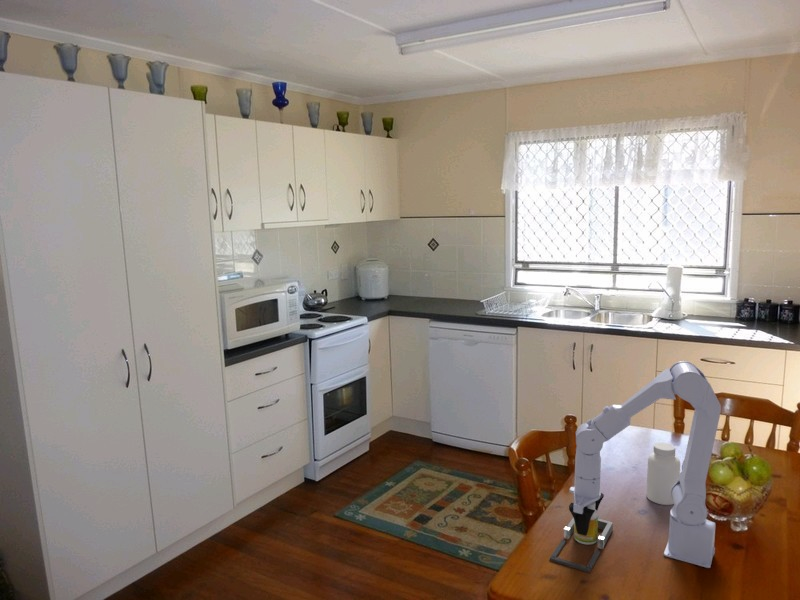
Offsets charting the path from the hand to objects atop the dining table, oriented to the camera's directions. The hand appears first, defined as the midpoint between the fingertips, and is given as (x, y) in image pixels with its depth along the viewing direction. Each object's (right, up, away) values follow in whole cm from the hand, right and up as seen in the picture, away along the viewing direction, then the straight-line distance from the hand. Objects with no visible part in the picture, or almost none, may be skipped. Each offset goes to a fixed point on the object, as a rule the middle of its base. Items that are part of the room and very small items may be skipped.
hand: (585, 527), depth 144 cm
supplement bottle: (0, -3, +1) cm, 3 cm away
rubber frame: (-4, -4, -6) cm, 9 cm away
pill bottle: (+26, +1, +19) cm, 32 cm away
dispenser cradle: (+2, -2, +3) cm, 4 cm away
